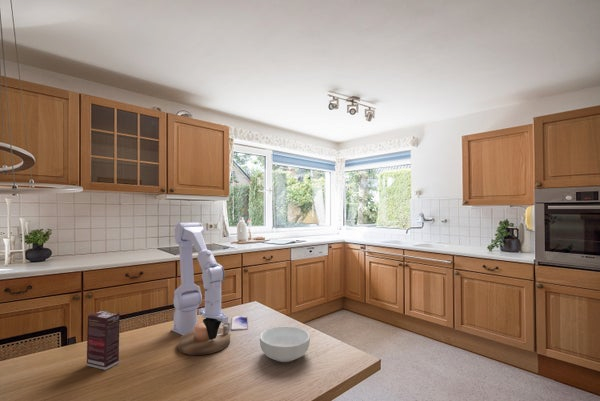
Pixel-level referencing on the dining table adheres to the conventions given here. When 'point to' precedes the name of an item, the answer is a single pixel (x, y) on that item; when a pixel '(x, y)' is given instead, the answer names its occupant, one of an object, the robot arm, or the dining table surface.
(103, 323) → the supplement box
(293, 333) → the cereal bowl
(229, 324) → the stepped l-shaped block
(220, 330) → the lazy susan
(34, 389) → the dining table surface
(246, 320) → the smartphone
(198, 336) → the peach knob
